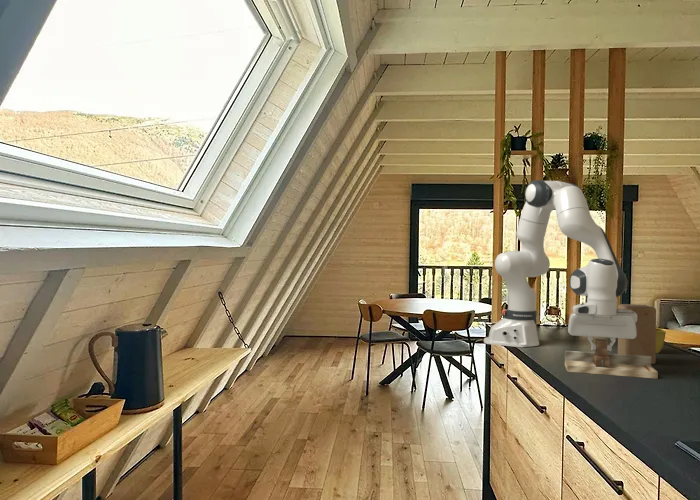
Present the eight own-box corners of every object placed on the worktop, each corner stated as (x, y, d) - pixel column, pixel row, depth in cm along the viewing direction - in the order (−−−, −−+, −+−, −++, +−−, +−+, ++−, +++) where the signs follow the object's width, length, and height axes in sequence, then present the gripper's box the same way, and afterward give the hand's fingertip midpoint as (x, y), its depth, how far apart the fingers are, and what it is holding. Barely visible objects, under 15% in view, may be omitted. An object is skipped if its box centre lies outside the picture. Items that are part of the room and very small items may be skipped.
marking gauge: (595, 366, 167) (596, 341, 167) (593, 362, 173) (593, 338, 173) (609, 367, 166) (609, 342, 166) (606, 363, 172) (606, 339, 172)
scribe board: (567, 371, 169) (567, 356, 169) (564, 365, 178) (564, 350, 178) (657, 378, 161) (657, 362, 161) (650, 371, 170) (650, 356, 170)
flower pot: (660, 350, 206) (660, 328, 206) (665, 354, 198) (666, 331, 197) (635, 349, 209) (635, 326, 209) (639, 353, 200) (640, 330, 200)
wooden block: (656, 365, 180) (657, 307, 180) (625, 363, 182) (626, 306, 182) (646, 359, 190) (646, 304, 190) (616, 357, 192) (617, 303, 192)
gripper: (635, 308, 170) (634, 351, 170) (567, 306, 176) (567, 346, 176) (639, 311, 164) (638, 354, 164) (569, 308, 170) (568, 350, 170)
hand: (601, 350), depth 170 cm, fingers closed on marking gauge, 3 cm apart
